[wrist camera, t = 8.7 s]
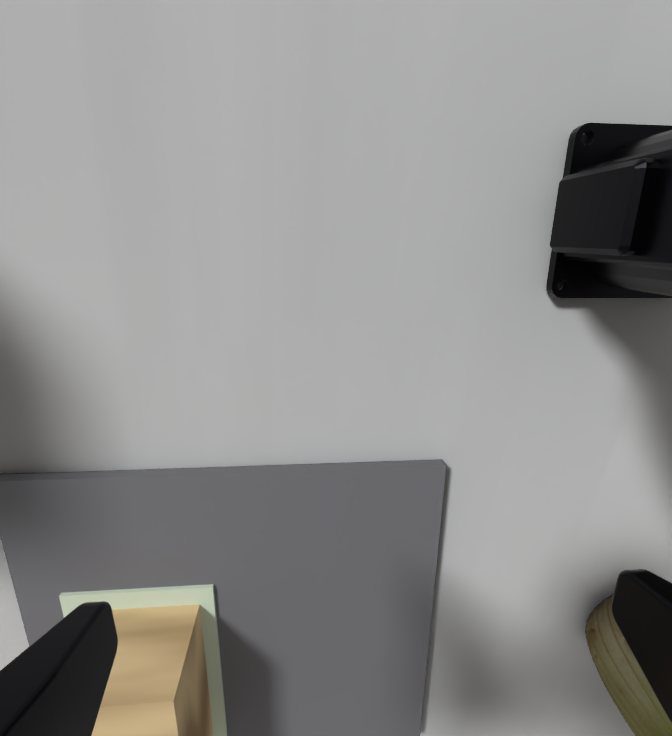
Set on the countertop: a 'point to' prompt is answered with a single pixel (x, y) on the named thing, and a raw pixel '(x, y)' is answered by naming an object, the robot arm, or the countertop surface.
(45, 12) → the countertop surface
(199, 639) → the oak block
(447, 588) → the countertop surface
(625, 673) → the fennel bulb
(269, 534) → the mat
